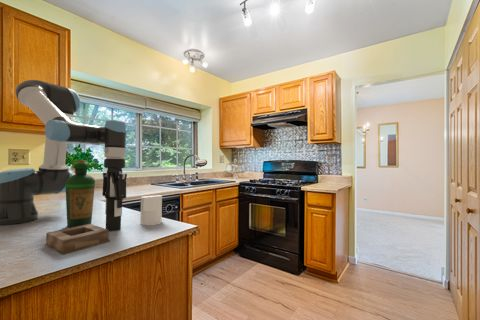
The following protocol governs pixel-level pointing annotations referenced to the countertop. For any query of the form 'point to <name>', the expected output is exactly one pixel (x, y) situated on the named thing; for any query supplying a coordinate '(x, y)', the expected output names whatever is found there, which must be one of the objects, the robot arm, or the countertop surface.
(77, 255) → the countertop surface
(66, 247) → the walnut holder
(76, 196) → the bottle
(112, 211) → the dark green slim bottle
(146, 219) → the white upright cylinder
